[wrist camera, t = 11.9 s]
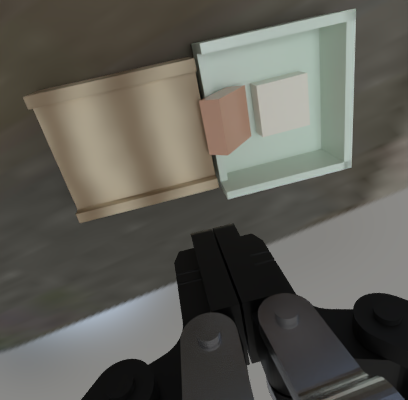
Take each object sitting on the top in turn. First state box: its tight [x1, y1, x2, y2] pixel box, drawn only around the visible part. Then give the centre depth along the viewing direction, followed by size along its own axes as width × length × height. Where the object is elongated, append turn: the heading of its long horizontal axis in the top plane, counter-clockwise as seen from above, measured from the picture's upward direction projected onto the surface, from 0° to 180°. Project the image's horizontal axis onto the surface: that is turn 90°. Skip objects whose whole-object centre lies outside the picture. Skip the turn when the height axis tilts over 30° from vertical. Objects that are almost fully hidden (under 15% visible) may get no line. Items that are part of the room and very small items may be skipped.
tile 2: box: [250, 71, 310, 137], centre depth 31 cm, size 5×5×2 cm
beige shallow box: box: [23, 57, 219, 223], centre depth 30 cm, size 14×12×4 cm
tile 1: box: [199, 85, 251, 155], centre depth 29 cm, size 5×5×2 cm
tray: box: [191, 9, 356, 199], centre depth 30 cm, size 13×14×5 cm
